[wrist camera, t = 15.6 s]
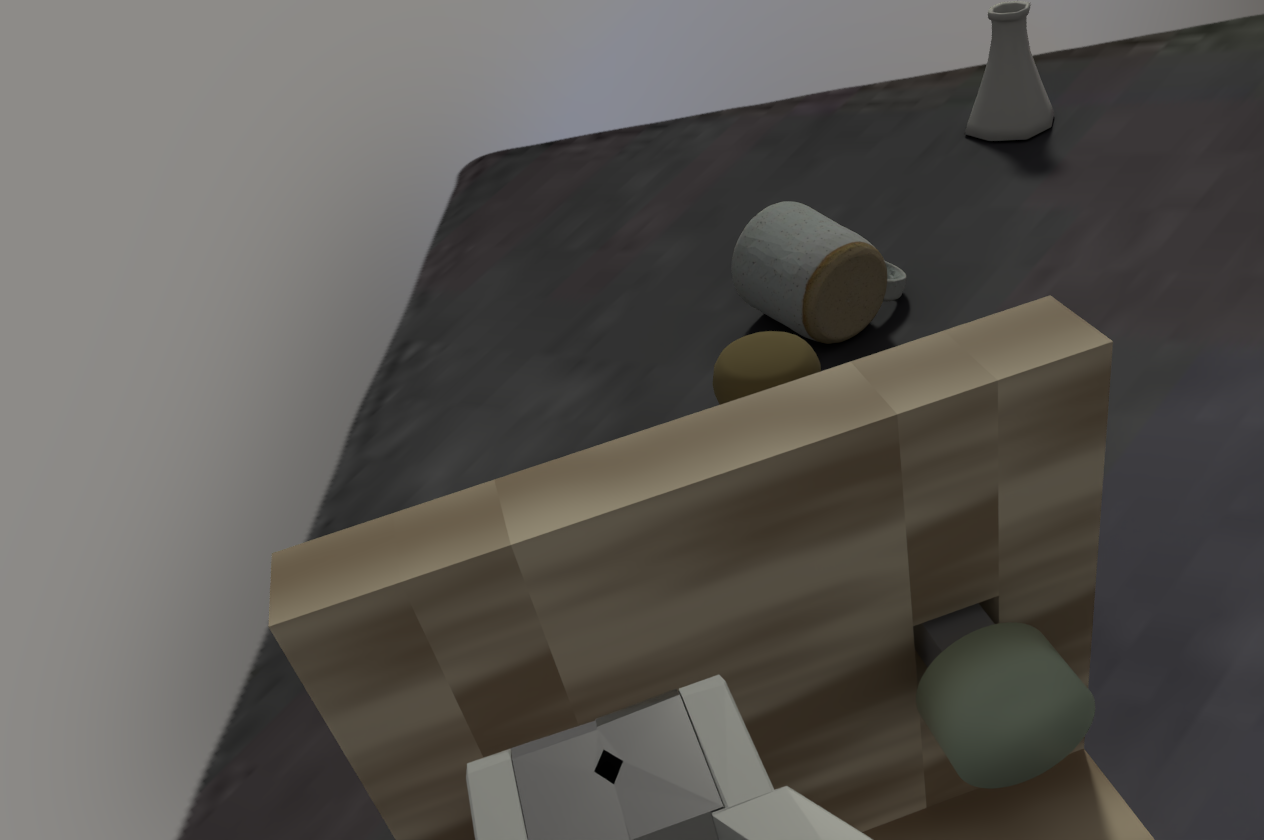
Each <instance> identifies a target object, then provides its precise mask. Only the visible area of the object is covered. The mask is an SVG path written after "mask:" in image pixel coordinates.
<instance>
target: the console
mask: <svg viewBox="0 0 1264 840" xmlns="http://www.w3.org/2000/svg"><path fill="white" fill-rule="evenodd" d="M1112 346H1113V341H1111V340H1110V339H1109V338H1107V337H1106V336H1105V335H1103V334H1102V333H1101V332H1099V331H1098V330H1097V329H1095V328H1094V327H1092V326H1091V325H1090V324H1088V323H1087V322H1086V321H1084V320H1083V319H1082V318H1080V317H1079V316H1077V315H1076V314H1075V313H1073V312H1072V311H1071V310H1069V309H1068V308H1067V307H1065V306H1064V305H1062V304H1061V303H1060V302H1058V301H1057V300H1056V299H1054V298H1053V297H1052V296H1047V297H1044V298H1041V299H1038V300H1035V301H1032V302H1029V303H1026V304H1023V305H1020V306H1017V307H1014V308H1011V309H1008V310H1005V311H1002V312H999V313H996V314H993V315H990V316H987V317H984V318H981V319H978V320H975V321H972V322H969V323H966V324H963V325H960V326H957V327H954V328H951V329H948V330H945V331H942V332H939V333H936V334H933V335H930V336H927V337H924V338H921V339H917V340H914V341H911V342H908V343H905V344H902V345H899V346H896V347H893V348H890V349H887V350H884V351H881V352H878V353H875V354H872V355H869V356H866V357H863V358H860V359H857V360H854V361H851V362H848V363H845V364H842V365H839V366H836V367H833V368H830V369H827V370H824V371H821V372H818V373H815V374H812V375H809V376H806V377H803V378H800V379H797V380H794V381H791V382H788V383H785V384H782V385H779V386H776V387H773V388H770V389H767V390H764V391H761V392H758V393H755V394H752V395H748V396H745V397H742V398H739V399H736V400H733V401H730V402H727V403H724V404H721V405H718V406H715V407H712V408H709V409H706V410H703V411H700V412H697V413H694V414H691V415H688V416H685V417H682V418H679V419H676V420H673V421H670V422H667V423H664V424H661V425H658V426H655V427H652V428H649V429H646V430H643V431H640V432H637V433H634V434H631V435H628V436H625V437H622V438H619V439H616V440H613V441H610V442H607V443H604V444H601V445H598V446H595V447H592V448H589V449H586V450H583V451H579V452H576V453H573V454H570V455H567V456H564V457H561V458H558V459H555V460H552V461H549V462H546V463H543V464H540V465H537V466H534V467H531V468H528V469H525V470H522V471H519V472H516V473H513V474H510V475H507V476H504V477H501V478H498V479H495V480H492V481H489V482H486V483H483V484H480V485H477V486H474V487H471V488H468V489H465V490H462V491H459V492H456V493H453V494H450V495H447V496H444V497H441V498H438V499H435V500H432V501H429V502H426V503H423V504H420V505H417V506H414V507H410V508H407V509H404V510H401V511H398V512H395V513H392V514H389V515H386V516H383V517H380V518H377V519H374V520H371V521H368V522H365V523H362V524H359V525H356V526H353V527H350V528H347V529H344V530H341V531H338V532H335V533H332V534H329V535H326V536H323V537H320V538H317V539H314V540H311V541H308V542H305V543H302V544H299V545H296V546H293V547H290V548H287V549H284V550H281V551H278V552H275V553H272V564H271V586H270V607H269V628H270V630H271V632H272V633H273V635H274V637H275V638H276V640H277V642H278V643H279V645H280V647H281V648H282V650H283V652H284V653H285V655H286V657H287V658H288V660H289V662H290V663H291V665H292V667H293V668H294V670H295V672H296V673H297V675H298V677H299V678H300V680H301V682H302V684H303V685H304V687H305V689H306V690H307V692H308V694H309V695H310V697H311V699H312V700H313V702H314V704H315V705H316V707H317V709H318V710H319V712H320V714H321V715H322V717H323V719H324V720H325V722H326V724H327V725H328V727H329V729H330V730H331V732H332V734H333V735H334V737H335V739H336V740H337V742H338V744H339V745H340V747H341V749H342V750H343V752H344V754H345V755H346V757H347V759H348V760H349V762H350V764H351V765H352V767H353V769H354V771H355V772H356V774H357V776H358V777H359V779H360V781H361V782H362V784H363V786H364V787H365V789H366V791H367V792H368V794H369V796H370V797H371V799H372V801H373V802H374V804H375V806H376V807H377V809H378V811H379V812H380V814H381V816H382V817H383V819H384V821H385V822H386V824H387V826H388V827H389V829H390V831H391V832H392V834H393V836H394V837H395V839H396V840H475V835H474V828H473V821H472V815H471V808H470V801H469V795H468V788H467V782H466V770H467V763H470V762H473V761H476V760H478V759H481V758H484V757H487V756H490V755H493V754H496V753H499V752H502V751H505V750H508V749H511V748H513V747H516V746H519V745H522V744H525V743H528V742H531V741H534V740H537V739H540V738H543V737H547V736H550V735H553V734H556V733H559V732H562V731H565V730H568V729H571V728H574V727H577V726H580V725H583V724H586V723H589V722H592V721H595V719H596V718H599V717H601V716H604V715H607V714H610V713H612V712H615V711H618V710H620V709H623V708H626V707H628V706H631V705H634V704H636V703H639V702H642V701H645V700H647V699H650V698H653V697H655V696H658V695H661V694H663V693H666V692H669V691H671V690H674V689H677V691H678V690H679V688H682V687H685V686H688V685H691V684H694V683H696V682H699V681H702V680H705V679H708V678H710V677H713V676H716V675H720V676H721V677H722V678H723V679H724V680H725V681H726V684H727V686H728V688H729V690H730V693H731V695H732V697H733V699H734V701H735V704H736V706H737V708H738V710H739V712H740V715H741V717H742V719H743V721H744V724H745V726H746V728H747V730H748V732H749V735H750V737H751V739H752V741H753V744H754V746H755V748H756V750H757V752H758V755H759V757H760V759H761V761H762V764H763V766H764V768H765V770H766V772H767V775H768V777H769V779H770V781H771V784H772V786H773V788H774V790H775V789H778V788H781V787H785V786H788V787H790V788H791V789H793V790H795V791H796V792H798V793H799V794H801V795H803V796H804V797H806V798H807V799H809V800H811V801H812V802H814V803H815V804H817V805H819V806H820V807H822V808H823V809H825V810H827V811H828V812H830V813H831V814H833V815H835V816H836V817H838V818H839V819H841V820H843V821H844V822H846V823H847V824H849V825H851V826H852V827H854V828H855V829H857V830H859V831H860V832H862V833H863V834H865V835H867V836H868V837H870V838H871V839H873V840H1154V838H1153V837H1152V836H1151V835H1150V833H1149V832H1148V831H1147V829H1146V828H1145V827H1144V826H1143V824H1142V823H1141V822H1140V820H1139V819H1138V818H1137V817H1136V815H1135V814H1134V813H1133V811H1132V810H1131V809H1130V808H1129V806H1128V805H1127V804H1126V802H1125V801H1124V800H1123V798H1122V797H1121V796H1120V795H1119V793H1118V792H1117V791H1116V789H1115V788H1114V787H1113V786H1112V784H1111V783H1110V782H1109V780H1108V779H1107V778H1106V777H1105V775H1104V774H1103V773H1102V771H1101V770H1100V769H1099V768H1098V766H1097V765H1096V764H1095V762H1094V761H1093V760H1092V759H1091V757H1090V756H1089V755H1088V753H1087V752H1086V751H1085V750H1084V738H1085V736H1084V738H1083V739H1082V740H1081V742H1080V743H1079V744H1078V745H1077V746H1076V747H1075V749H1074V750H1073V751H1072V752H1071V753H1070V754H1068V755H1067V756H1066V757H1065V758H1064V759H1063V760H1061V761H1060V762H1059V763H1058V764H1056V765H1055V766H1053V767H1052V768H1050V769H1049V770H1047V771H1045V772H1044V773H1042V774H1040V775H1038V776H1036V777H1034V778H1032V779H1030V780H1027V781H1025V782H1022V783H1019V784H1016V785H1012V786H1008V787H1002V788H992V789H989V788H979V787H975V786H972V785H970V784H968V783H966V782H965V781H963V780H962V779H961V778H960V776H959V775H958V774H957V772H956V770H955V769H954V767H953V766H952V764H951V763H950V761H949V759H948V758H947V756H946V755H945V753H944V752H943V750H942V748H941V747H940V745H939V744H938V742H937V741H936V739H935V737H934V736H933V734H932V733H931V731H930V729H929V728H928V726H927V725H926V723H925V722H924V720H923V718H922V717H921V715H920V714H919V712H918V709H917V706H916V693H917V688H918V685H919V682H920V680H921V678H922V676H923V674H924V673H925V671H926V670H927V666H926V665H925V663H924V662H923V660H922V659H921V657H920V656H919V654H918V653H917V652H916V650H915V646H914V633H913V626H915V625H918V624H921V623H924V622H927V621H929V620H932V619H935V618H938V617H941V616H943V615H946V614H949V613H952V612H954V611H957V610H960V609H963V608H966V607H968V606H971V605H974V604H977V603H979V605H980V606H981V607H982V608H983V610H984V611H985V612H986V614H987V615H988V616H989V617H990V619H991V620H992V621H993V622H994V624H999V623H1007V622H1017V623H1024V624H1027V625H1031V626H1033V627H1035V628H1036V629H1038V630H1039V631H1040V632H1041V633H1042V634H1043V635H1044V636H1045V638H1046V639H1047V640H1048V641H1049V642H1050V644H1051V645H1052V646H1053V647H1054V648H1055V650H1056V651H1057V652H1058V653H1059V654H1060V656H1061V657H1062V658H1063V659H1064V660H1065V662H1066V663H1067V664H1068V665H1069V666H1070V668H1071V669H1072V670H1073V671H1074V673H1075V674H1076V675H1077V676H1078V677H1079V679H1080V680H1081V681H1082V682H1083V683H1084V685H1085V686H1086V687H1087V688H1088V682H1089V668H1090V654H1091V640H1092V626H1093V612H1094V598H1095V584H1096V570H1097V556H1098V542H1099V528H1100V514H1101V500H1102V486H1103V472H1104V458H1105V444H1106V430H1107V416H1108V402H1109V388H1110V374H1111V360H1112Z"/></svg>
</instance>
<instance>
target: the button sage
mask: <svg viewBox="0 0 1264 840" xmlns="http://www.w3.org/2000/svg"><path fill="white" fill-rule="evenodd" d="M913 633H914V646H915V650H916V652H917V653H918V654H919V656H920V657H921V659H922V660H923V662H924V663H925V665H926V666H927V670H926V671H925V673H924V674H923V676H922V678H921V680H920V682H919V685H918V688H917V693H916V706H917V709H918V712H919V714H920V715H921V717H922V718H923V720H924V722H925V723H926V725H927V726H928V728H929V729H930V731H931V733H932V734H933V736H934V737H935V739H936V741H937V742H938V744H939V745H940V747H941V748H942V750H943V752H944V753H945V755H946V756H947V758H948V759H949V761H950V763H951V764H952V766H953V767H954V769H955V770H956V772H957V774H958V775H959V776H960V778H961V779H962V780H963V781H965V782H966V783H968V784H970V785H972V786H975V787H979V788H989V789H992V788H1002V787H1008V786H1012V785H1016V784H1019V783H1022V782H1025V781H1027V780H1030V779H1032V778H1034V777H1036V776H1038V775H1040V774H1042V773H1044V772H1045V771H1047V770H1049V769H1050V768H1052V767H1053V766H1055V765H1056V764H1058V763H1059V762H1060V761H1061V760H1063V759H1064V758H1065V757H1066V756H1067V755H1068V754H1070V753H1071V752H1072V751H1073V750H1074V749H1075V747H1076V746H1077V745H1078V744H1079V743H1080V742H1081V740H1082V739H1083V738H1084V736H1085V735H1086V733H1087V732H1088V730H1089V728H1090V726H1091V724H1092V721H1093V718H1094V714H1095V701H1094V697H1093V695H1092V693H1091V692H1090V691H1089V689H1088V688H1087V687H1086V686H1085V685H1084V683H1083V682H1082V681H1081V680H1080V679H1079V677H1078V676H1077V675H1076V674H1075V673H1074V671H1073V670H1072V669H1071V668H1070V666H1069V665H1068V664H1067V663H1066V662H1065V660H1064V659H1063V658H1062V657H1061V656H1060V654H1059V653H1058V652H1057V651H1056V650H1055V648H1054V647H1053V646H1052V645H1051V644H1050V642H1049V641H1048V640H1047V639H1046V638H1045V636H1044V635H1043V634H1042V633H1041V632H1040V631H1039V630H1038V629H1036V628H1035V627H1033V626H1031V625H1027V624H1024V623H1017V622H1007V623H999V624H994V622H993V621H992V620H991V619H990V617H989V616H988V615H987V614H986V612H985V611H984V610H983V608H982V607H981V606H980V605H979V603H977V604H974V605H971V606H968V607H966V608H963V609H960V610H957V611H954V612H952V613H949V614H946V615H943V616H941V617H938V618H935V619H932V620H929V621H927V622H924V623H921V624H918V625H915V626H913Z"/></svg>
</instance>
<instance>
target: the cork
mask: <svg viewBox="0 0 1264 840" xmlns="http://www.w3.org/2000/svg"><path fill="white" fill-rule="evenodd" d="M818 372H821V365H820V361H819V359H818V357H817V355H816V353H815V352H814V350H813V349H812V347H811V346H810V345H809V344H808V343H807V342H806V341H805V340H803V339H802V338H800V337H798V336H797V335H794V334H790V333H787V332H778V331H765V332H757V333H754V334H750V335H747V336H744V337H742V338H740V339H738V340H736V341H734V342H732V343H731V344H729V345H728V346H727V347H726V348H725V349H723V351H722V353H721V354H720V356H719V357H718V359H717V361H716V363H715V365H714V376H713V388H714V393H715V396H716V398H717V400H718V402H719V404H720V405H721V404H724V403H727V402H730V401H733V400H736V399H739V398H742V397H745V396H748V395H752V394H755V393H758V392H761V391H764V390H767V389H770V388H773V387H776V386H779V385H782V384H785V383H788V382H791V381H794V380H797V379H800V378H803V377H806V376H809V375H812V374H815V373H818Z"/></svg>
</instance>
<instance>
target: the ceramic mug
mask: <svg viewBox="0 0 1264 840" xmlns="http://www.w3.org/2000/svg"><path fill="white" fill-rule="evenodd" d="M732 278H733V283H734V286H735V289H736V290H737V292H738V294H739V296H740V297H741V298H742V299H743V300H744V301H745V302H746V303H747V304H749V305H750V306H752V307H754V308H756V309H758V310H759V311H761V312H763V313H764V314H766V315H768V316H769V317H771V318H773V319H775V320H776V321H778V322H780V323H782V324H784V325H785V326H787V327H789V328H790V329H792V330H793V331H795V332H797V333H798V334H800V335H802V336H804V337H806V338H808V339H811V340H814V341H817V342H821V343H827V344H831V343H839V342H843V341H845V340H848V339H850V338H851V337H853V336H855V335H857V334H858V333H859V332H861V331H862V330H863V329H864V328H865V327H866V326H867V325H868V324H869V323H870V322H871V321H872V320H873V318H874V317H875V315H876V314H877V312H878V310H879V309H880V307H881V304H882V302H883V301H892V300H895V299H898V298H900V296H901V295H902V292H903V289H904V286H905V282H906V274H905V273H904V272H903V271H902V270H901V269H899V268H898V267H896V266H894V265H893V264H890V263H888V262H886V261H884V259H883V257H882V255H881V254H880V252H879V251H878V250H877V249H876V248H875V247H874V246H873V245H872V244H871V243H869V242H868V241H867V240H866V239H864V238H863V237H861V236H860V235H858V234H857V233H855V232H853V231H851V230H849V229H847V228H845V227H843V226H841V225H839V224H837V223H836V222H834V221H832V220H830V219H829V218H827V217H825V216H824V215H822V214H820V213H818V212H817V211H815V210H813V209H812V208H810V207H808V206H806V205H804V204H801V203H798V202H780V203H777V204H773V205H771V206H769V207H767V208H765V209H764V210H762V211H761V212H759V213H758V214H757V215H756V216H755V217H754V218H753V219H752V220H751V221H750V222H749V223H748V224H747V226H746V227H745V228H744V230H743V232H742V234H741V235H740V237H739V239H738V242H737V244H736V246H735V249H734V253H733V258H732Z"/></svg>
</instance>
